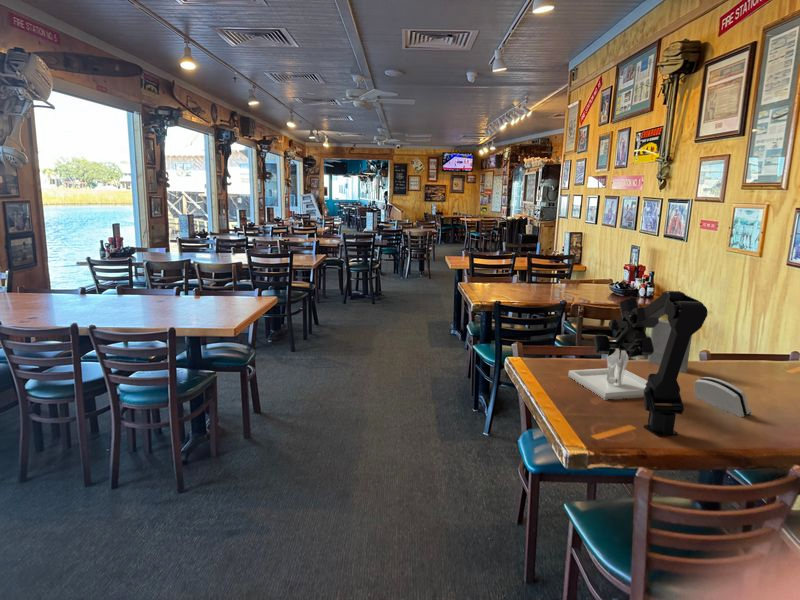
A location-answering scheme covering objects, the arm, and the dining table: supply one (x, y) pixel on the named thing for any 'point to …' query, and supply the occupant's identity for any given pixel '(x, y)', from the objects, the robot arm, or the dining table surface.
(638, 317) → the robot arm
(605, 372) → the serving tray
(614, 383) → the beer glass
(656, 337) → the hip flask
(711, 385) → the grey half-round block
